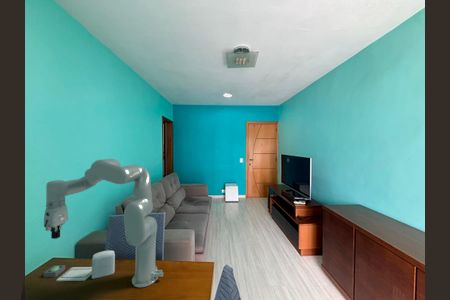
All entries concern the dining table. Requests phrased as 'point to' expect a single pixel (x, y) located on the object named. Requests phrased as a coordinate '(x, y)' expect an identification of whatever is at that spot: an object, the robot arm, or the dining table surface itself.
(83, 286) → the dining table surface
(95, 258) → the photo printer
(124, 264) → the dining table surface
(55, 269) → the button
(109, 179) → the robot arm
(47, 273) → the button housing
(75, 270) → the paper board
